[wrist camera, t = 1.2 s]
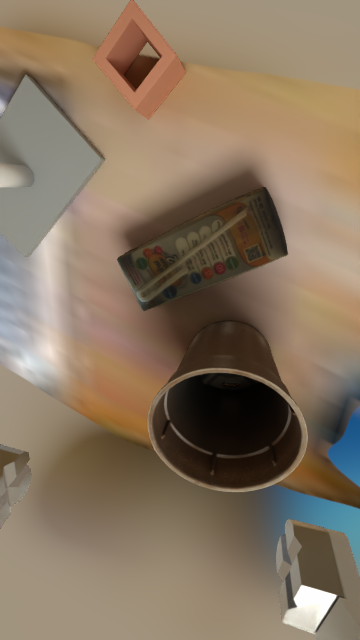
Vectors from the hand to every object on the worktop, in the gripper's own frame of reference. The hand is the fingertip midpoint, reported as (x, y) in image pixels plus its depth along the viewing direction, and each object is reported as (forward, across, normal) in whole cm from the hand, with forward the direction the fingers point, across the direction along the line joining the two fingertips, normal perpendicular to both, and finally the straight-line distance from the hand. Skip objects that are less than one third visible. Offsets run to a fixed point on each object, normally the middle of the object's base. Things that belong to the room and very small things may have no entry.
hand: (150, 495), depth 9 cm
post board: (+34, +27, -6) cm, 44 cm away
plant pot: (+35, -4, +15) cm, 38 cm away
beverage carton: (+35, +2, -1) cm, 35 cm away
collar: (+35, +12, -19) cm, 41 cm away
